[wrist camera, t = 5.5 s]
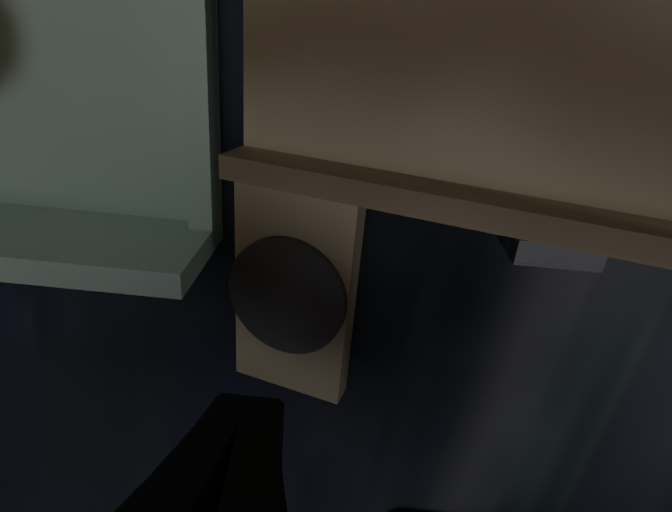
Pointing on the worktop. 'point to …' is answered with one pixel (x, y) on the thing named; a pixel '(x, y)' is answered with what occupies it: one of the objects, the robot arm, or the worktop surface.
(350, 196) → the wooden ramp
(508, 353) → the worktop surface
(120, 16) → the tray
